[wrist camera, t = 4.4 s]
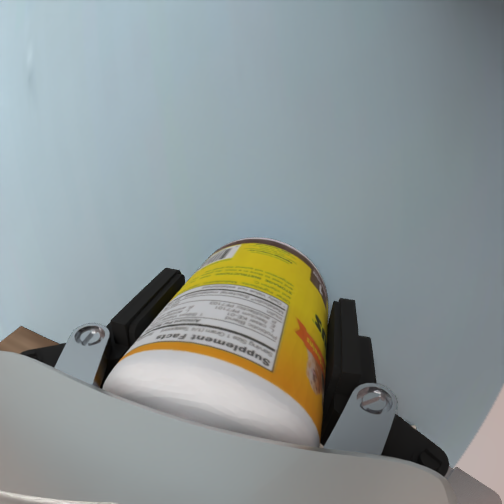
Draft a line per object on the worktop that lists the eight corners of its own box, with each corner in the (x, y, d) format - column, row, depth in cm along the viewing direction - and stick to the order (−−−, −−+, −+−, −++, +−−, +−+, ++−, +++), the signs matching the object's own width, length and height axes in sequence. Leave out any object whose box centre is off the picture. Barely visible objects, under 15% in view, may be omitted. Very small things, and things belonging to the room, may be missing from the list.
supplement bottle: (307, 358, 14) (266, 572, 5) (196, 325, 15) (81, 505, 6) (347, 252, 12) (356, 527, 3) (211, 216, 13) (10, 396, 4)
